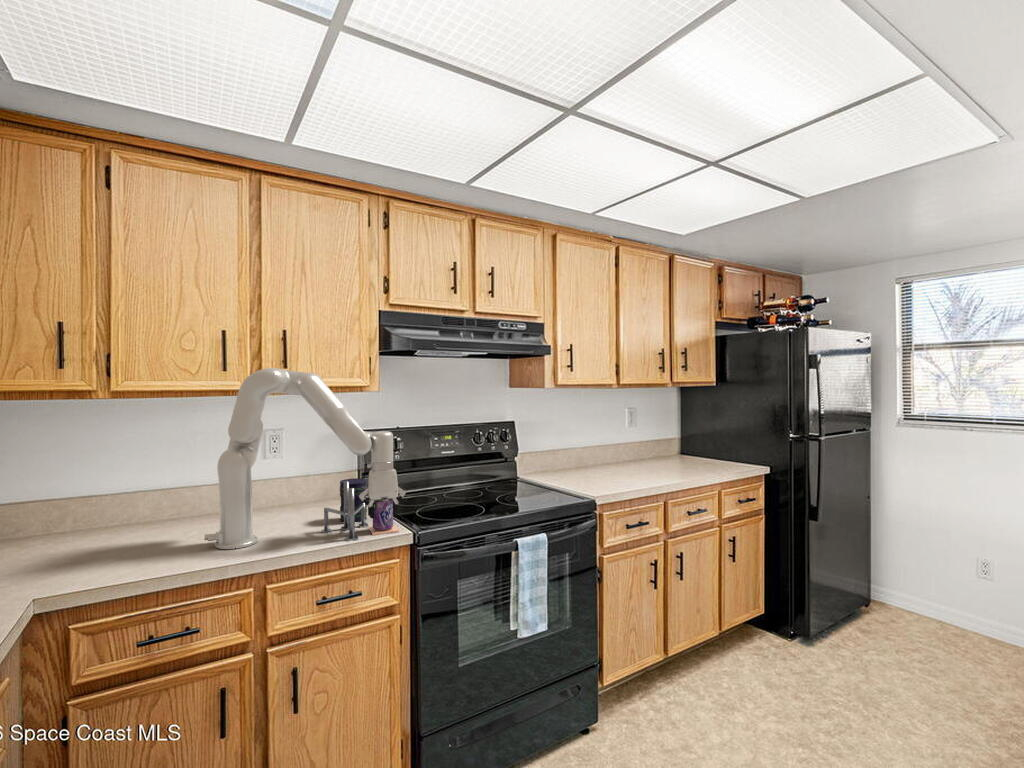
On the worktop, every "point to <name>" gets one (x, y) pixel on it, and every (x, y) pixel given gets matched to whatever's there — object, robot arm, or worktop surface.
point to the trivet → (376, 532)
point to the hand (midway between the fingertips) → (382, 515)
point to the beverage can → (383, 514)
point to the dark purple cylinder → (358, 487)
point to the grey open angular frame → (347, 513)
